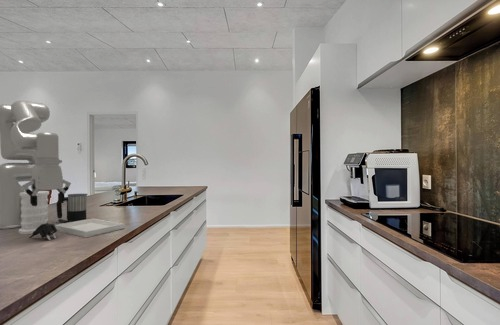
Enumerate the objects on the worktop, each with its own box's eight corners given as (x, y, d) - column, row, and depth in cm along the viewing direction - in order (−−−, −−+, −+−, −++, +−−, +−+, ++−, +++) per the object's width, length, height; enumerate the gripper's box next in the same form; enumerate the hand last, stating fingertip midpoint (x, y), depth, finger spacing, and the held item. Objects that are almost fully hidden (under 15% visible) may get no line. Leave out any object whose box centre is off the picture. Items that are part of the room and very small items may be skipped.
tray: (54, 230, 130) (54, 225, 130) (92, 223, 146) (92, 218, 146) (86, 237, 117) (86, 231, 117) (124, 228, 133) (124, 223, 133)
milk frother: (85, 219, 157) (85, 192, 157) (92, 223, 145) (92, 195, 145) (54, 223, 147) (54, 194, 147) (59, 228, 135) (59, 197, 135)
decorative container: (47, 226, 138) (47, 190, 138) (52, 230, 129) (52, 192, 129) (17, 231, 129) (17, 192, 129) (20, 235, 121) (20, 194, 121)
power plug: (35, 234, 120) (54, 219, 118) (43, 249, 119) (63, 234, 117) (22, 237, 114) (42, 221, 113) (31, 253, 114) (51, 237, 112)
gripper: (65, 162, 125) (65, 201, 124) (18, 162, 110) (18, 206, 110) (74, 162, 121) (75, 202, 121) (26, 162, 106) (27, 207, 106)
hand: (48, 204), depth 115 cm, fingers open, 9 cm apart
